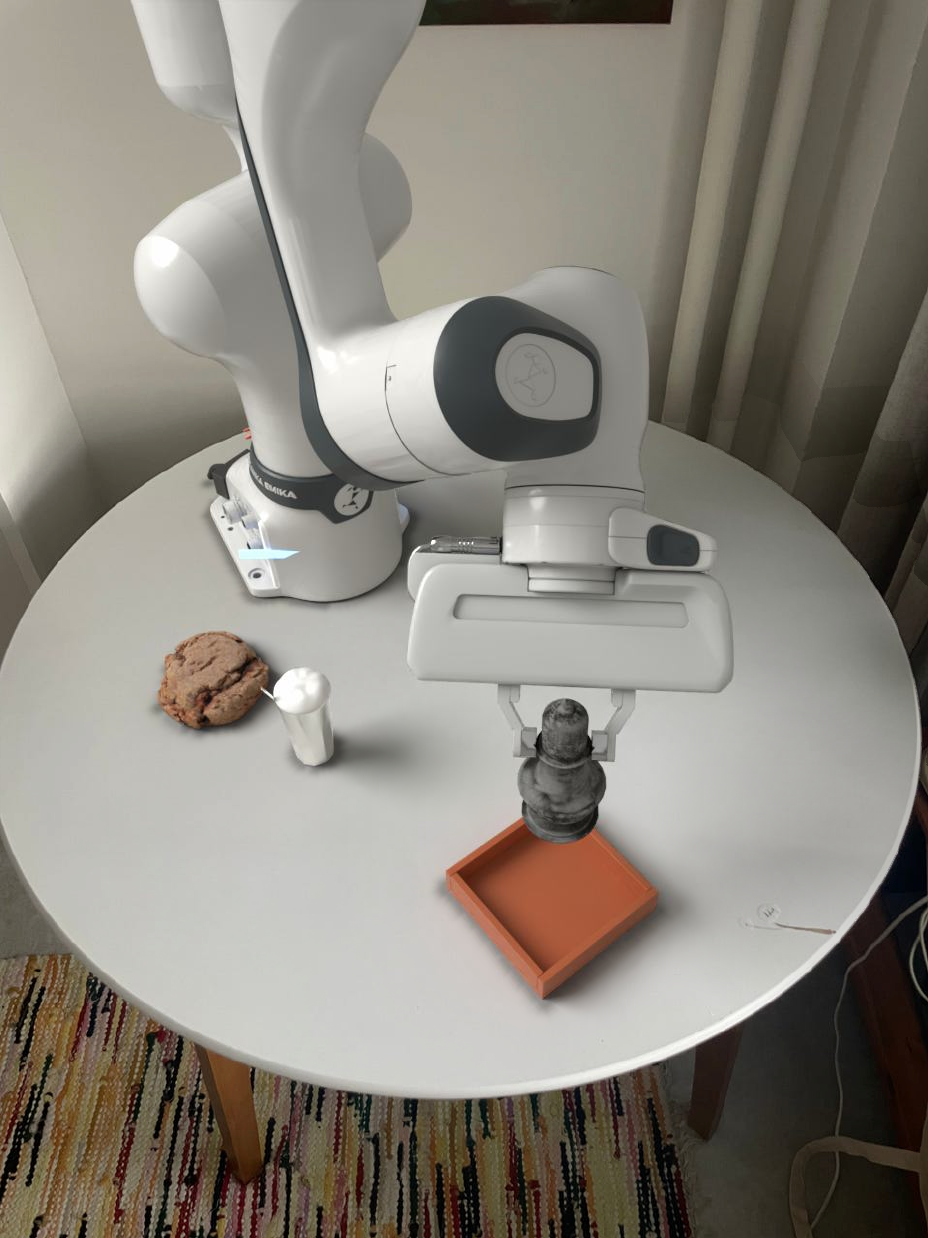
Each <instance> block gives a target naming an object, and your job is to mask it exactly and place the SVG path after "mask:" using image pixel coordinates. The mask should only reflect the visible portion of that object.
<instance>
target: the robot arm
mask: <svg viewBox="0 0 928 1238" xmlns="http://www.w3.org/2000/svg"><path fill="white" fill-rule="evenodd" d="M130 3H131V7H132V10H133V13H134V15H135V16H134V17H135V19H136V22H137V26H138V29H139V32H140V34H141V38H142V41H143V44H144V47H145V50H146V53H147V57H148V58H149V62H150V66H151V69H152V72H153V76H154V78H155V81H156V84H157V85H158V87H159V89H160V90H161V92H162V94H163V95H164V96H165V97H166V99H168V100H169V102H170V103H172V105H174V106H175V107H176V108H178V109H179V110H180V111H182V112H184V113H185V114H187V115H189V116H191V117H193V118H196V119H198V120H202V121H204V122H207V123H210V124H214V125H218V126H221V127H222V129H223V130H224V131H225V132H226V134H227V135H228V137H229V138H230V141H231V142H232V144H233V146H234V148H235V150H236V152H237V155H238V157H239V162H240V166H241V167H240V168H241V172H240V173H239V174H238V175H236V176H234V177H232V178H230V179H228V180H226V181H224V182H222V183H220V184H218V185H216V186H214V187H212V188H210V189H208V190H206V191H204V192H202V193H200V194H198V195H196V196H194V197H192V198H190V199H188V200H186V201H184V202H183V203H181V204H180V205H178V207H176V208H175V209H174V210H173V211H171V212H170V213H169V214H168V215H166V217H165V218H163V219H162V220H161V221H160V222H158V224H157V225H156V226H155V227H154V228H152V229H151V230H150V231H149V232H148V233H147V234H145V236H144V237H143V238H142V239H141V240H140V241H139V242H138V244H137V246H136V248H135V251H134V257H133V266H132V267H133V281H134V286H135V291H136V295H137V297H138V301H139V303H140V306H141V307H142V310H143V312H144V314H145V315H146V317H147V319H148V320H149V321H150V323H151V324H152V326H153V327H154V328H155V329H156V331H158V332H159V333H160V334H161V336H163V337H164V338H165V339H166V340H167V341H169V342H170V343H171V344H173V345H174V346H176V347H177V348H179V349H181V350H182V351H185V352H187V353H189V354H192V355H194V356H197V357H200V358H205V359H209V360H213V361H215V362H217V363H218V364H220V365H221V366H222V367H224V369H225V370H226V371H227V372H228V373H229V375H230V376H231V378H232V379H233V381H234V383H235V385H236V388H237V390H238V393H239V396H240V400H241V403H242V406H243V410H244V414H245V417H246V421H247V425H248V427H246V428H245V429H243V432H244V433H247V432H249V433H248V434H247V435H245V437H244V439H245V440H250V439H251V442H250V446H249V448H246V449H244V450H243V451H241V452H239V453H238V454H237V455H235V456H233V457H232V458H231V459H229V460H227V461H226V462H225V463H214V464H212V465H211V466H210V467H209V468H208V471H207V474H206V477H207V479H208V480H209V481H210V480H212V481H213V484H214V485H213V486H214V488H215V492H216V494H217V495H218V497H216V498H215V499H214V501H213V502H212V503H211V505H210V507H209V510H210V516H211V518H212V520H213V522H214V524H215V527H216V529H217V530H218V532H219V534H220V536H221V538H222V540H223V543H224V544H225V547H226V548H227V550H228V552H229V554H230V556H231V558H232V560H233V563H234V564H235V565H236V569H238V572H239V573H240V576H241V577H242V580H243V582H244V584H245V585H246V587H247V589H248V592H249V593H250V594H251V595H252V596H254V597H257V598H276V597H288V598H289V597H290V598H294V599H298V600H303V601H311V602H334V601H342V600H347V599H351V598H354V597H357V596H360V595H362V594H365V593H367V592H369V591H372V590H373V589H374V588H376V587H378V586H380V584H382V583H383V582H385V581H386V580H387V579H388V578H389V577H390V576H391V575H392V574H393V572H394V571H395V570H396V569H397V567H398V566H399V563H400V561H401V559H402V555H403V534H404V532H405V531H406V528H407V527H408V525H409V523H410V519H411V517H410V513H409V509H408V508H407V507H406V506H405V505H403V504H402V503H399V501H398V496H397V491H396V489H398V488H402V487H405V486H409V485H413V484H417V483H420V482H424V481H428V480H435V479H437V480H438V479H446V478H455V477H463V476H467V475H471V474H476V473H477V474H478V473H484V472H485V473H486V472H492V471H493V472H494V471H499V470H503V471H504V472H505V475H506V477H505V480H504V488H503V490H504V491H503V512H502V513H503V517H502V535H501V536H469V537H468V536H467V537H456V536H455V537H454V536H452V535H435V536H432V537H431V541H426V542H423V543H421V544H419V545H418V546H417V547H415V549H413V551H412V552H411V553H410V555H409V558H408V561H407V567H406V589H407V593H408V595H409V598H410V600H412V602H413V603H414V604H413V610H412V615H411V621H410V627H409V632H408V642H407V651H406V652H407V653H406V666H407V668H408V670H409V671H410V672H411V674H412V675H413V676H414V677H415V678H416V679H417V680H418V681H422V682H423V681H424V682H444V683H445V682H446V683H467V684H468V683H469V684H488V685H489V684H490V685H497V694H496V695H497V697H496V698H497V699H496V701H497V702H496V703H497V705H498V706H499V709H500V710H501V712H502V714H503V716H504V718H505V720H506V721H507V724H508V725H509V727H510V729H511V730H513V734H512V735H513V736H512V757H513V758H525V759H526V758H536V746H535V742H536V740H537V736H538V727H537V726H535V727H534V726H525V724H524V722H523V720H522V718H521V716H520V715H519V713H518V710H517V708H516V706H515V705H514V703H515V704H517V703H519V702H520V699H521V689H522V687H521V686H537V687H558V688H559V687H561V688H582V689H603V690H610V703H611V704H612V706H613V707H614V708H617V709H616V710H615V711H614V713H613V714H612V716H611V718H610V720H609V721H608V723H607V724H606V726H605V727H604V729H591V734H590V735H591V736H590V738H591V742H592V747H593V748H592V750H591V761H598V762H605V763H607V762H608V763H615V760H616V747H617V746H616V745H617V735H619V734H620V732H621V731H622V729H623V728H624V726H625V725H626V723H627V721H628V719H629V718H630V717H631V716H632V714H633V712H634V711H635V710H636V695H637V691H651V692H653V691H654V692H671V693H673V692H675V693H694V694H695V693H697V694H720V693H722V692H723V691H724V690H725V689H726V688H727V687H728V686H729V684H730V683H732V681H733V678H734V669H735V668H734V667H735V650H734V649H735V648H734V633H733V632H734V631H733V630H734V629H733V621H732V614H731V607H730V601H729V598H728V595H727V593H726V590H725V588H724V587H723V585H722V584H721V583H720V581H719V580H717V578H715V577H713V576H712V575H710V574H708V573H706V572H708V571H711V570H712V569H714V568H715V566H716V565H717V562H718V555H719V546H718V543H717V541H716V539H715V538H714V537H713V536H711V535H709V534H707V533H705V532H701V531H698V530H695V529H693V528H689V527H687V526H683V525H681V524H677V523H675V522H674V521H670V520H666V519H665V518H664V519H662V518H660V517H657V516H654V515H652V514H648V513H647V512H646V511H645V508H646V483H645V479H644V476H643V471H642V463H641V453H642V445H643V442H644V440H645V439H644V438H645V436H646V432H647V430H648V426H649V416H650V415H649V413H650V412H649V411H650V352H649V350H650V349H649V340H648V332H647V331H648V330H647V325H646V320H645V315H644V309H643V307H642V303H641V300H640V297H639V296H638V295H639V294H638V293H637V292H636V290H635V289H634V288H633V287H632V286H631V285H630V284H629V283H627V282H626V281H625V280H622V279H621V278H620V277H618V276H616V275H614V274H611V273H609V272H607V271H605V270H602V269H598V268H592V267H587V266H586V267H585V266H577V265H558V266H550V267H545V268H543V269H540V270H537V271H535V272H533V273H532V274H530V276H528V278H527V279H526V280H525V281H524V282H522V283H519V284H518V285H516V286H514V287H511V288H509V289H507V290H504V291H500V292H498V293H495V294H491V295H481V296H480V295H479V296H472V297H467V298H464V299H460V300H457V301H454V302H451V303H447V304H444V305H441V306H437V307H434V308H431V309H428V310H425V311H423V312H421V313H419V314H417V315H415V316H412V317H408V318H405V319H401V320H398V318H397V317H396V315H394V313H393V311H392V310H391V308H390V306H389V303H388V300H387V296H386V292H385V289H384V284H383V279H382V276H381V272H380V267H379V263H380V261H382V260H383V259H384V257H385V256H386V255H387V254H388V253H389V252H390V251H391V250H392V249H393V248H394V247H395V245H396V244H397V243H398V242H399V241H400V239H401V238H402V237H403V236H404V234H406V232H407V231H408V229H409V226H410V223H411V220H412V214H413V197H412V192H411V187H410V183H409V179H408V177H407V175H406V172H405V170H404V168H403V166H402V164H401V162H400V161H399V160H398V157H396V156H395V154H394V153H393V151H391V149H390V148H389V147H388V146H387V145H385V144H384V143H383V142H382V141H381V140H380V139H378V137H375V136H373V135H371V134H369V133H368V132H366V129H367V127H368V124H369V121H370V118H371V116H372V114H373V112H374V109H375V106H376V105H377V102H378V100H379V98H380V96H381V94H382V92H383V90H384V89H385V86H386V85H387V83H388V81H389V79H390V78H391V76H392V74H393V73H394V71H395V69H396V68H397V66H398V64H399V63H400V61H401V60H402V58H403V57H404V55H405V54H406V52H407V50H408V49H409V46H410V45H411V42H412V41H413V38H414V36H415V34H416V32H417V29H418V27H419V25H420V22H421V20H422V17H423V13H424V10H425V6H426V3H427V0H130ZM427 549H431V552H423V551H425V550H427ZM501 563H502V564H501Z"/></svg>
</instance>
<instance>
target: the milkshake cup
mask: <svg viewBox="0 0 928 1238" xmlns="http://www.w3.org/2000/svg"><path fill="white" fill-rule="evenodd" d="M260 687H261V686H260ZM261 690H262V691H263V692H264V694H265V695H267V696H268V697H269V698H270V699H272V700H273V701H274V702H275V704H276V706H277V709H278V712H279V714H280V716H281V718H282V720H283V723H284V726H285V729H286V732H287V734H288V737H289V739H290V742H291V745H292V748H293V751H294V753H295V755H296V757H297V759H298V760H299V761H301V763H302V765H307V766H312V767H316V766H319V765H322V764H325V763H327V762H328V761H329V760H330V759H331V757H332V756H333V755H335V754H334V753H335V750H334V748H335V747H334V730H333V717H332V687H331V683H330V680H329V679H328V677H327V676H326V675H325V674H324V673H322V672H321V671H318V670H317V669H314V668H313V667H299V668H292V669H289V670H288V671H286V672H285V673H284V674H282V676H281V677H280V678H279V680H277V682H276V683H275V685H274V687H273V694H271V693H270V692H268V691H267V689H266V690H265V689H264V688H263V687H261Z"/></svg>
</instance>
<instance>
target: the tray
mask: <svg viewBox="0 0 928 1238" xmlns="http://www.w3.org/2000/svg"><path fill="white" fill-rule="evenodd" d="M445 880H446V888H447V890H449V892H450V893H451V894H452V895H453V896H454V898H455V899H456V900H457V901H458V902H459V903H460V905H461V906H462V907H463V908H464V909H465V910H466V912H467V913H468V915H470V916H471V918H473V920H474V921H475V922H476V923H477V925H479V927H480V928H481V929H482V930H483V932H484V933H485V934H486V935H487V936H488V938H489V939H490V940H491V941H492V942H493V944H494V945H495V946H496V947H497V948H498V949H499V951H501V953H502V954H503V955H504V956H505V958H506V959H507V960H508V961H509V962H510V963H511V965H512V966H513V967H514V968H515V969H516V970H517V972H518V973H519V974H520V975H521V976H522V977H523V979H524V980H525V981H526V983H528V984H529V986H530V987H531V988H532V990H533V991H534V992H535V993H536V994H537V995H538V996H539V997H540V999H541V1000H543V999H544V998H546V997H547V996H548V995H549V994H551V993H552V992H553V991H554V990H555V989H557V988H558V987H559V986H561V985H562V984H564V982H565V981H567V980H569V979H570V978H571V977H573V975H575V974H576V973H577V972H578V971H579V970H581V969H582V968H583V967H584V966H586V965H587V964H588V963H590V962H591V961H592V960H593V959H595V958H596V957H597V956H598V955H599V954H601V953H602V952H603V951H604V950H606V949H607V948H608V947H609V946H610V945H612V944H613V943H614V942H616V941H617V940H618V939H619V938H621V937H622V936H623V935H624V934H625V933H627V932H628V931H629V930H630V929H632V928H634V926H636V925H637V924H638V923H639V922H641V921H642V920H643V919H644V918H645V917H647V916H648V915H649V914H650V913H652V912H654V910H656V908H657V903H658V899H659V895H660V892H659V891H658V889H656V887H654V886H653V885H652V883H650V882H649V881H648V880H647V879H646V878H645V877H644V875H642V874H641V873H640V872H639V871H638V870H637V869H636V868H635V867H634V866H633V864H631V863H630V862H629V861H628V860H627V859H626V858H625V856H623V855H622V854H621V853H620V852H619V851H618V850H617V849H616V848H615V847H614V846H613V845H612V844H611V843H610V842H609V841H608V840H607V839H606V838H605V837H604V836H603V835H602V834H601V833H600V832H599V831H598V830H597V829H596V828H595V827H594V828H593V830H592V831H591V832H590V833H589V834H588V835H587V836H586V837H584V838H582V839H580V840H578V841H576V842H572V843H567V844H557V843H551V842H548V841H544V840H543V839H541V838H539V837H537V836H535V835H534V834H533V833H532V832H531V831H530V830H529V829H528V827H527V826H526V824H525V822H524V820H523V816H521V817H520V818H518V820H515V821H514V822H513V823H511V824H510V825H509V826H507V827H505V829H503V830H502V831H500V832H499V833H497V834H496V835H495V836H493V837H492V838H490V839H489V840H487V841H486V842H484V843H483V844H481V845H480V846H479V847H477V848H476V849H475V850H472V852H470V853H469V854H468V855H466V856H464V857H463V858H461V860H459V861H458V862H456V863H454V864H453V865H452V866H450V867H449V868H447V869H446V870H445Z"/></svg>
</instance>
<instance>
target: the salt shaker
mask: <svg viewBox="0 0 928 1238" xmlns="http://www.w3.org/2000/svg"><path fill="white" fill-rule="evenodd" d="M589 724H590V717H589V712H588V710H587V708H586V707H585V706H584V705H583V704H582V703H581V702H579V701H577V700H576V699H572V698H566V697H565V698H564V697H562V698H558V699H555V700H552V701H550V702H549V703H548V704H547V705H546V706H545V707H544V710H543V712H542V715H541V731H539V733H537V740H536V742H535V746H536V758H525V759H524V761H522V763H521V764H520V767H519V769H518V772H517V782H516V783H517V784H516V785H517V788H518V792H519V795H520V796H521V797H522V801H521V817H523V820H524V822H525V824H526V826H527V827H528V829H529V830H530V831H531V832H532V833H533V834H534V835H535V836H537V837H539V838H541V839H543V840H544V841H548V842H551V843H557V844H567V843H572V842H576V841H578V840H580V839H582V838H584V837H586V836H587V835H588V834H589V833H590V832H591V831H592V830H593V828H594V829H595V827H596V825H597V823H598V820H599V816H600V814H599V812H600V810H599V805H600V804H601V802H602V801H603V799H604V798H605V793H606V791H607V776H606V772H605V770H604V767H603V766H602V764H601V763H600V761H591V750H592V748H593V747H592V745H593V744H592V742H591V736H590V735H589Z"/></svg>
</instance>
